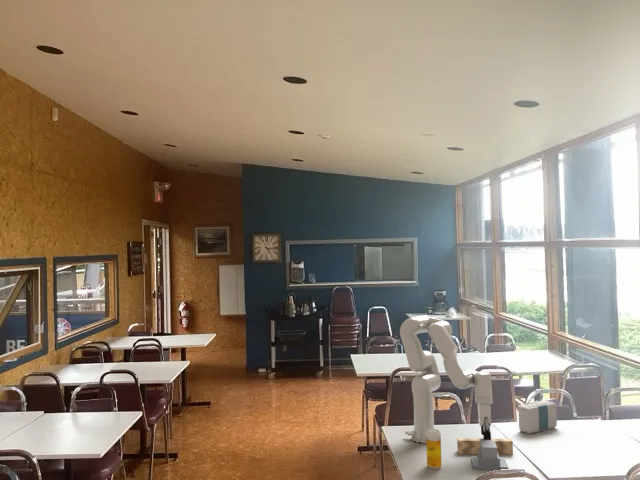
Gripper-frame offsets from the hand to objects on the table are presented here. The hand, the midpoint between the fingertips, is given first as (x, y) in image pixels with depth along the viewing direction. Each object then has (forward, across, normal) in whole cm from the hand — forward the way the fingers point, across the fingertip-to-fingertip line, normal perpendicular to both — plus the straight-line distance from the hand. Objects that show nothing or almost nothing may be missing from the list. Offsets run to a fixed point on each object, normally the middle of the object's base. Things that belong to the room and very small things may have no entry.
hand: (486, 437), depth 254 cm
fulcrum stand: (+7, +16, -1) cm, 17 cm away
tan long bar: (+7, 0, -1) cm, 7 cm away
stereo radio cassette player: (+7, -39, +29) cm, 49 cm away
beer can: (+7, +20, -24) cm, 32 cm away
